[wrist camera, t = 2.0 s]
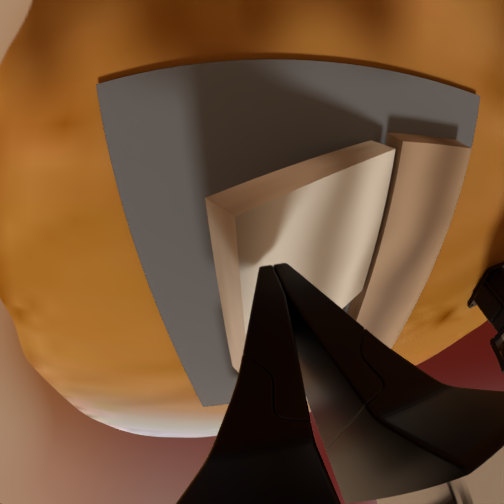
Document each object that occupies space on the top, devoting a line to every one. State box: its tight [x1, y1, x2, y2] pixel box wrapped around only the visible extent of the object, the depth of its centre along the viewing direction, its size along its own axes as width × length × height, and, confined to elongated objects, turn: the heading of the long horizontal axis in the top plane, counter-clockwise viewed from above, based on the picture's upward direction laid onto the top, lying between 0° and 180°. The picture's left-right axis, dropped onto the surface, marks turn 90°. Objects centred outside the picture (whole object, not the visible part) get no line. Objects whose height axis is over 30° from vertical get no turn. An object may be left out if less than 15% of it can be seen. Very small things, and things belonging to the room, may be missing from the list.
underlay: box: [96, 59, 480, 407], centre depth 21 cm, size 22×32×1 cm
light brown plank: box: [347, 132, 471, 349], centre depth 21 cm, size 6×25×2 cm, turn 2°
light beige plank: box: [205, 140, 396, 373], centre depth 14 cm, size 10×10×2 cm
